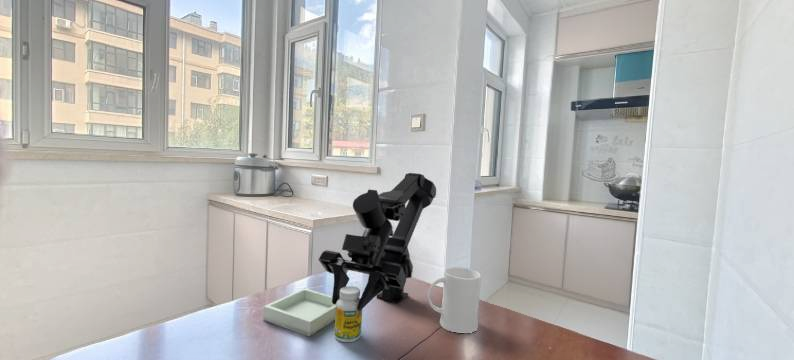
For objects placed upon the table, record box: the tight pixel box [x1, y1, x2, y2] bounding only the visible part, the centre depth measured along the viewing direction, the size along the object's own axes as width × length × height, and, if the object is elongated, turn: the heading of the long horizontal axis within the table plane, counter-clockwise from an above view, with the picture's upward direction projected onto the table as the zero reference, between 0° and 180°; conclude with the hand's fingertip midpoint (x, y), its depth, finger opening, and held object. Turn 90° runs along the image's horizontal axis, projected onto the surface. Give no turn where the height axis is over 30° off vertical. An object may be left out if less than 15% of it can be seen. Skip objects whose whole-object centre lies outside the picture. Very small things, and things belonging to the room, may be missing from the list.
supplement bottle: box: [333, 285, 363, 343], centre depth 68 cm, size 5×5×10 cm
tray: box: [263, 287, 336, 337], centre depth 75 cm, size 13×13×3 cm
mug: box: [427, 266, 482, 334], centre depth 76 cm, size 12×8×12 cm
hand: (345, 306), depth 66 cm, fingers closed on supplement bottle, 5 cm apart
